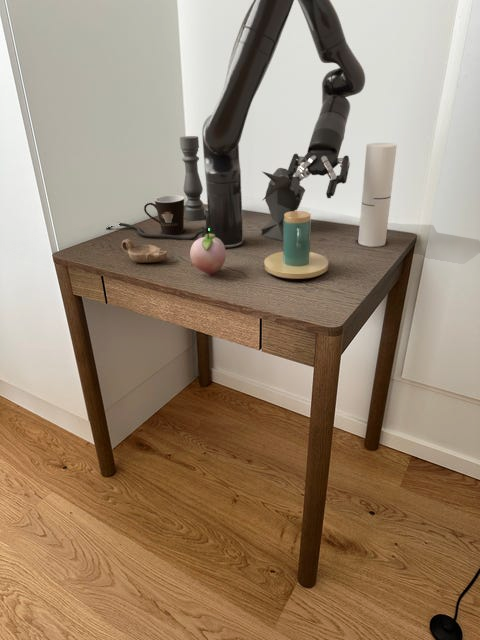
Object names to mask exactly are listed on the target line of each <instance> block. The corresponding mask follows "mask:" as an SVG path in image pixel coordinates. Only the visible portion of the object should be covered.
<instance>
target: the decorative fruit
mask: <svg viewBox="0 0 480 640" xmlns="http://www.w3.org/2000/svg"><path fill="white" fill-rule="evenodd" d="M189 256H190V261H191V262H192V265H193V266H194V267H195V268H196V269H198V270H200V271H201V272H203V273H205V274H209V275H213V274H215V273H217V272H218V271H220V270H221V269H222V267H223V266H224V265H225V262H226V258H227V253H226V248H225V246H224V244H223V243H222V241H221V240H220V239H218V238H216V237H215V235H214V234H209V233H207V234H206V235H205V237H202V236H201V237H199V238H198V239H196V240H195V241H194V242H193V243H192V244H191V248H190V252H189Z"/></svg>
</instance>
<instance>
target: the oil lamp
mask: <svg viewBox="0 0 480 640" xmlns="http://www.w3.org/2000/svg"><path fill="white" fill-rule="evenodd" d="M120 246H121V249H122V250H123V252H125V253H127V254H128V256H129V257H130V259H131V260H132V261H134V262H136V263H141V264H142V263H143V264H144V263H145V264H146V263H160V262H162V261H164V260H165V259H166V257H167V254H168V253H167V252H168V251H167V250H162V248H160V247H158V246H156V245H153V244H137V245H134V243H133V242H132V240H131V239H129V238H126V239H124V240H122V241H121V245H120ZM127 246H128V247H127Z"/></svg>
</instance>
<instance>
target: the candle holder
mask: <svg viewBox="0 0 480 640" xmlns="http://www.w3.org/2000/svg"><path fill="white" fill-rule="evenodd" d="M179 146H180V150H181V153H182V155H183V157H182V159H181V161H182V162H183V164H184V168H185V169H184V170H185V175H184V183H183V192H184V195H185V196H186V199H187V200H186V202H185V206H186V207H184V213H185V219H186V220H187V221H195V222H196V221H201V220H204V219H206V214H205V206H203V205H204V202H203V201H202V199H201V195H202V193H203V190H204V187H203V184H202V181H201V178H200V175H199V170H198V169H199V168H198V161H199V160H200V157H199V156H198V152H199V148H200V142H199V136H198V135H197V136H196V135H187V136H185V135H184V136H180V137H179Z"/></svg>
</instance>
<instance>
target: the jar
mask: <svg viewBox="0 0 480 640" xmlns="http://www.w3.org/2000/svg"><path fill="white" fill-rule="evenodd" d="M311 215H312V214H311V213H310V212H308V211H304V210H295V211H290V212H287V213H285V214H284V220H283V241H282V251H278V252H274V253H271V254H270V255H268V256H267V257H265V259H264V260H263V268H264V270H265V271H266V272H267V273H268V274H270V275H272V276H274V275H275V276H274V277H276V276H278V277H283V278H292V279H302V278H311V277H315V276H317V277H319V276H320V275H323V274H325V273H326V272H327V271H328V270H329V260H328V258H327V257H325V256H324V255H321V254H319V253H316V252H312V251H311V234H312V233H311V232H312V219H311V217H312V216H311ZM278 277H277V278H278ZM315 278H316V277H315Z"/></svg>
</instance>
